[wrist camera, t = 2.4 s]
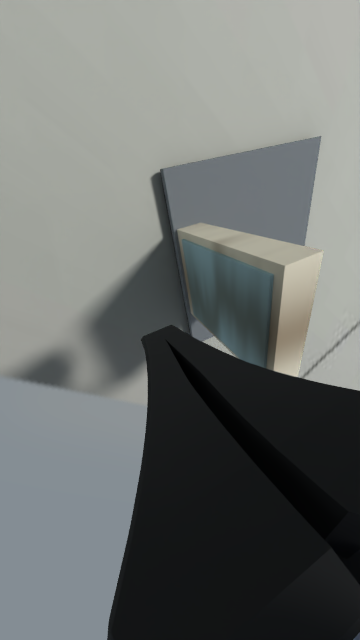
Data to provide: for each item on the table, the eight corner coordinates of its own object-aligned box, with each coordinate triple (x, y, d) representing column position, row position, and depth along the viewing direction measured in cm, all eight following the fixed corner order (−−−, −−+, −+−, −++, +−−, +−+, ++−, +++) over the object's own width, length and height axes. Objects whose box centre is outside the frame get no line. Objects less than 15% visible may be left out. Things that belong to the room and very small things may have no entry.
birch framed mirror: (209, 306, 17) (298, 376, 10) (189, 314, 16) (268, 392, 10) (200, 222, 13) (324, 250, 7) (174, 230, 13) (281, 267, 6)
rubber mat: (292, 297, 21) (296, 298, 21) (191, 342, 18) (194, 344, 18) (315, 137, 14) (321, 135, 14) (160, 169, 11) (162, 168, 11)
